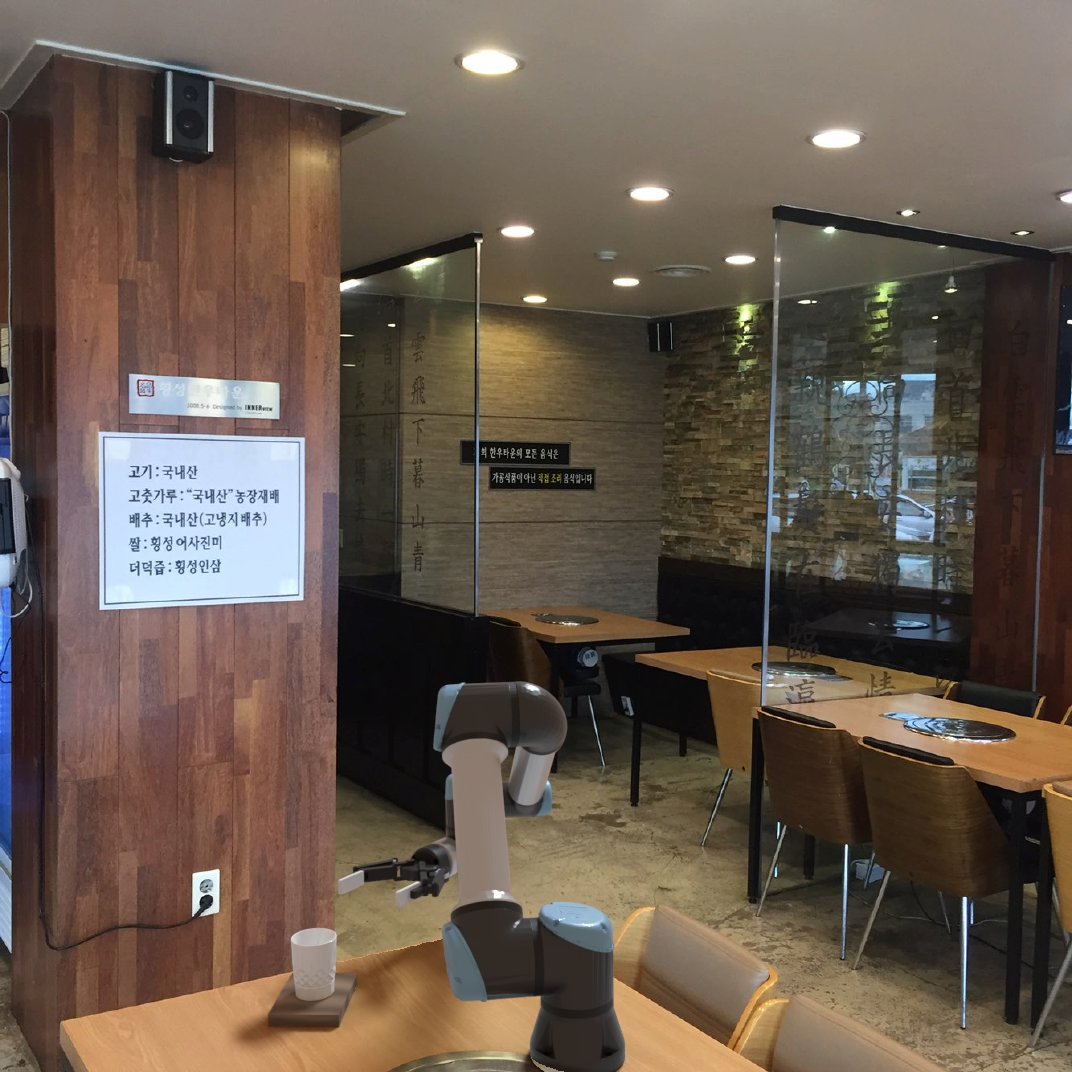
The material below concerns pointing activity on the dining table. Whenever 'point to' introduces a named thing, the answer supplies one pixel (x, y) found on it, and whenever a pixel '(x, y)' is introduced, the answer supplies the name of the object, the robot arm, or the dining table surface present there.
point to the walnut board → (313, 1005)
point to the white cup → (314, 963)
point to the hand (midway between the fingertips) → (367, 893)
